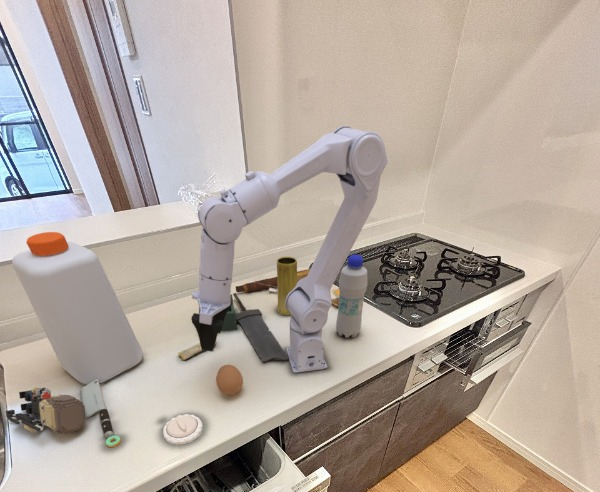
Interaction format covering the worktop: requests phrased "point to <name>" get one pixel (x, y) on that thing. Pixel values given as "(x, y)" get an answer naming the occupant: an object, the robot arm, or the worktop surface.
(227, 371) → the egg
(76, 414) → the toy
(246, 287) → the hand tool
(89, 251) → the plastic bottle
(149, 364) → the worktop surface
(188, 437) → the white round disc
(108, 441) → the donut
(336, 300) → the shell
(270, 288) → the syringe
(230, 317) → the tote
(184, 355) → the snack bar
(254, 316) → the flat dark sword
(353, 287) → the bottle
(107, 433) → the cleaver
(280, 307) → the vase
